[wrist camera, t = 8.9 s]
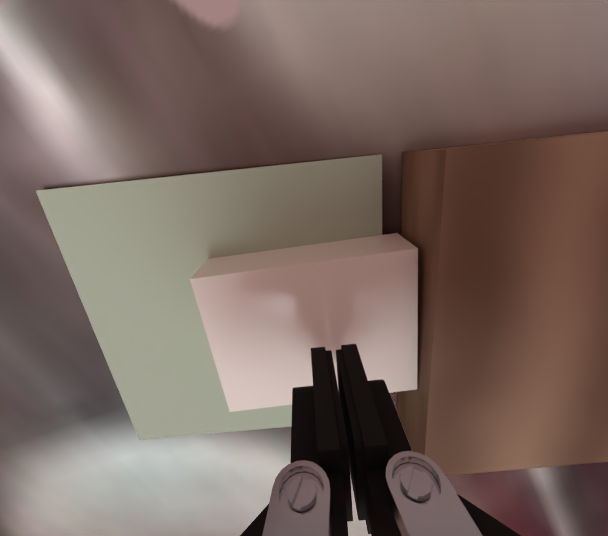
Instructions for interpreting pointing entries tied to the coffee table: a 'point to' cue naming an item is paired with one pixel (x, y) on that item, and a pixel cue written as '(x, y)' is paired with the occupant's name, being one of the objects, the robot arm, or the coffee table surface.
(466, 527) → the robot arm
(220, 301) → the tile
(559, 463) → the plate
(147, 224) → the mat
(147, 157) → the coffee table surface
